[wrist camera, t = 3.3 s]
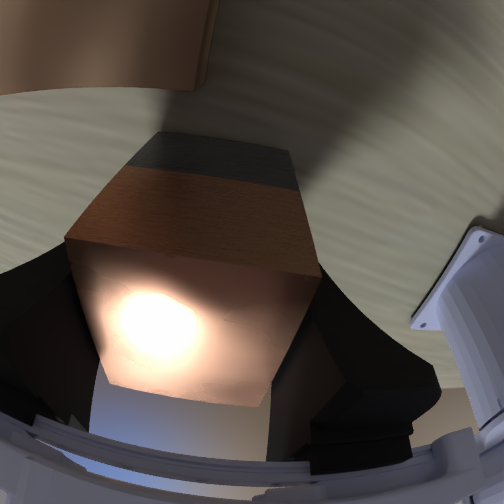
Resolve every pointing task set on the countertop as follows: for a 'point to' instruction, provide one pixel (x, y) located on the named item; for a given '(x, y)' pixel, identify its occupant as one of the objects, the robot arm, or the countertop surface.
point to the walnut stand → (104, 44)
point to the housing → (196, 268)
